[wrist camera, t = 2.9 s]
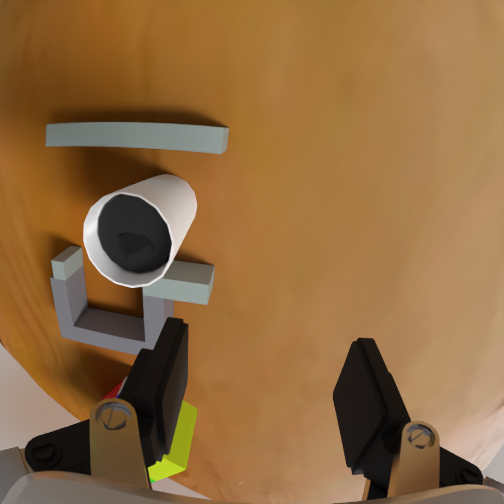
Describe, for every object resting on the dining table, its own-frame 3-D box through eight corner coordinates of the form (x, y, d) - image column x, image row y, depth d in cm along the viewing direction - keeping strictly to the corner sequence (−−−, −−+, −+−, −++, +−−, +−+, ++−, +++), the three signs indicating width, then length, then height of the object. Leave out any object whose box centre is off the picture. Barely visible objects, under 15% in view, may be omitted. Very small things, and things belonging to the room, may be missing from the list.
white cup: (213, 224, 30) (192, 270, 21) (152, 248, 31) (111, 298, 22) (184, 157, 28) (146, 174, 18) (122, 186, 29) (67, 216, 19)
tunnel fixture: (229, 127, 27) (222, 128, 22) (208, 343, 35) (202, 373, 30) (-17, 130, 26) (-45, 135, 21) (1, 297, 34) (-20, 315, 30)
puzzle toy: (137, 367, 37) (111, 426, 28) (197, 409, 40) (186, 469, 30) (103, 397, 40) (79, 448, 31) (158, 433, 42) (143, 485, 33)
